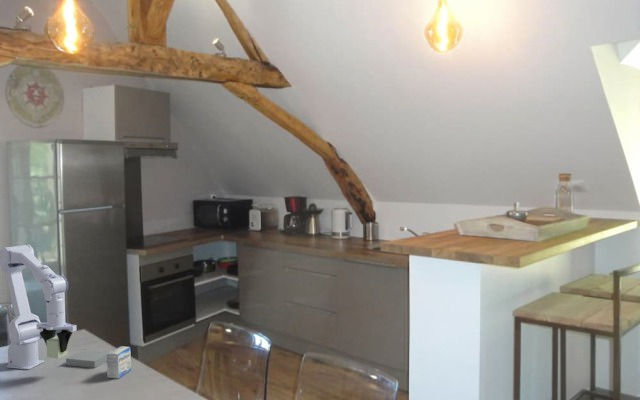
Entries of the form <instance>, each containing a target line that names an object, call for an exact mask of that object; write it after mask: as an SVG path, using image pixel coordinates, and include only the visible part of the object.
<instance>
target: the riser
mask: <svg viewBox="0 0 640 400" xmlns="http://www.w3.org/2000/svg"><path fill="white" fill-rule="evenodd" d="M110 352H111V351H107V350H95V349H82V350H80V351H78V352H76V353H74V354H72V355H71V356H69V357H66V358H65V365H66V366H67V367H68V366H70V367H81V368H91V369H96V368H97V367H99V366H101V365H103V364H104V363H107V354H108V353H110Z"/></svg>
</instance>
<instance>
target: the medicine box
mask: <svg viewBox="0 0 640 400" xmlns="http://www.w3.org/2000/svg"><path fill="white" fill-rule="evenodd" d="M109 352H110V353H108V354H107V361H106V372H107V373H106V374H107V375H106V376H107V378H108V379H116V380H118V379H121V378H122V377H124V376H125V375H126V374H127V373H129V372H130V371H132V360H131V359H132V357H131V355H132V354H131V353H132V352H131V347H130V346H123V345H122V346H118V347H117V348H115V349H113V350H112V351H109Z"/></svg>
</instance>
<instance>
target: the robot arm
mask: <svg viewBox="0 0 640 400" xmlns="http://www.w3.org/2000/svg"><path fill="white" fill-rule="evenodd" d="M34 251H35V250H34V248H33V247H32V245H31V244H28V243H27V244H23V245H14V246H8V247H7V246H5V247H4V246H3V247H1V248H0V270H1V272H3V273H5V278H6V281H7V285H8V291H9V294H10V295H9V296H10V299H11V303H12V308H13V313H14V318H12V320H11V321H10V322H9V323H8V338H9V339H10V343H9V345H8V348H7V359H8V360H7V363H8V365H7V366H6V368H8V369H9V368H11V369H19V370H20V369H21V370H30V369H32V368H34V367H37V366H39V365H41V364H43V363H45V360H43V359H42V360H41V359H39V340H40V339H41V338H42V339H43V341H44V343H45V346H46V347H47V340H48V339H51V338H53V337H55V336H58V339H59V343H60V351H61V352H64V351H66V350H67V351H68V345H69V342H70V339H71V336H72V335H73V333H76V332H77V330H78V329H77V324H71V323H68V322H66V299H65V296H66V295H65V294H66V293H67V291H68V289H69V282H68V279H67V278H66V277H65V276H64V275H59V274H58V275H57V274H56V273H55V272H54V271H53V270H52V268H50V267H49V266H48V265H45V264H42V263H41V262H40V261H39V259H38V258H37V257H36V255H35V252H34ZM26 268H27V269H29V270H30V271H31V272H32V277H33V278H34V279H35V281H37V283H38V284H39V285H40V286H41V291H42V293H43V296H44V297H43V298H44V301H46V302H45V304H46V322H41V320H40V317H39V316H38V315H36V314H34V313H32V312H31V307H30V303H29V299H28V295H27V290H26V285H25V281H24V278H23V272H22V271H24V270H23V269H26ZM56 331H60V332H57V333H56Z"/></svg>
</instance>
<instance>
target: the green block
mask: <svg viewBox="0 0 640 400" xmlns="http://www.w3.org/2000/svg"><path fill="white" fill-rule="evenodd" d="M68 352H69V351H68V349H67V350H66V351H64V352H61V351H60V343H59V339H58V336H57V335H55V337H53V338H51V339H48V340H47V346H46V358H48V359H49V358H50V359H51V358H52V359H60V358H62V357H64V356H66V355H68Z"/></svg>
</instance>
